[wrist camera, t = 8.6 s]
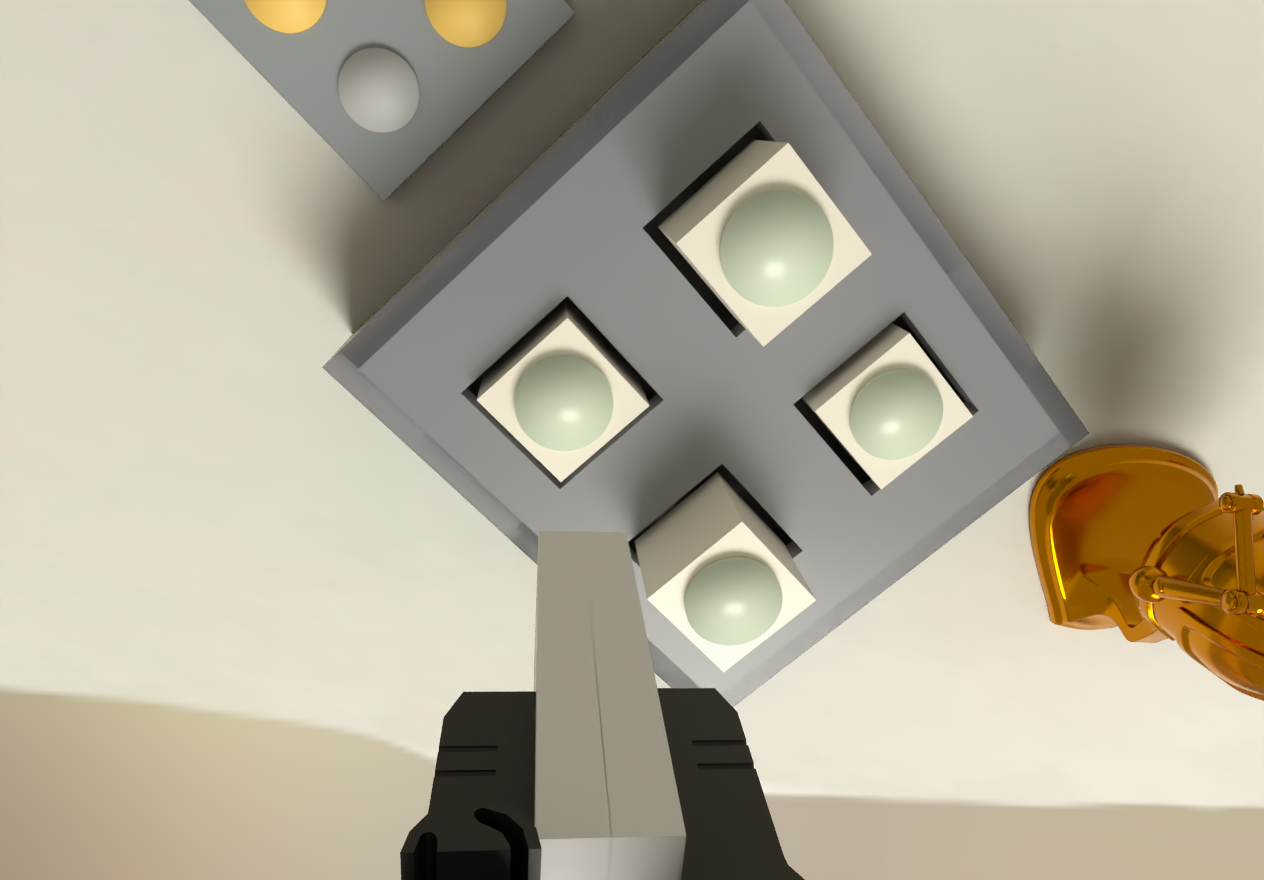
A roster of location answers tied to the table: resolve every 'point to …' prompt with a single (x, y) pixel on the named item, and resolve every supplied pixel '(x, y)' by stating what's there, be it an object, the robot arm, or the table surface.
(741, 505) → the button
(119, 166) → the table surface
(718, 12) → the button box
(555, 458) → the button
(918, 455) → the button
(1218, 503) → the figurine
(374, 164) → the card
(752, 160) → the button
